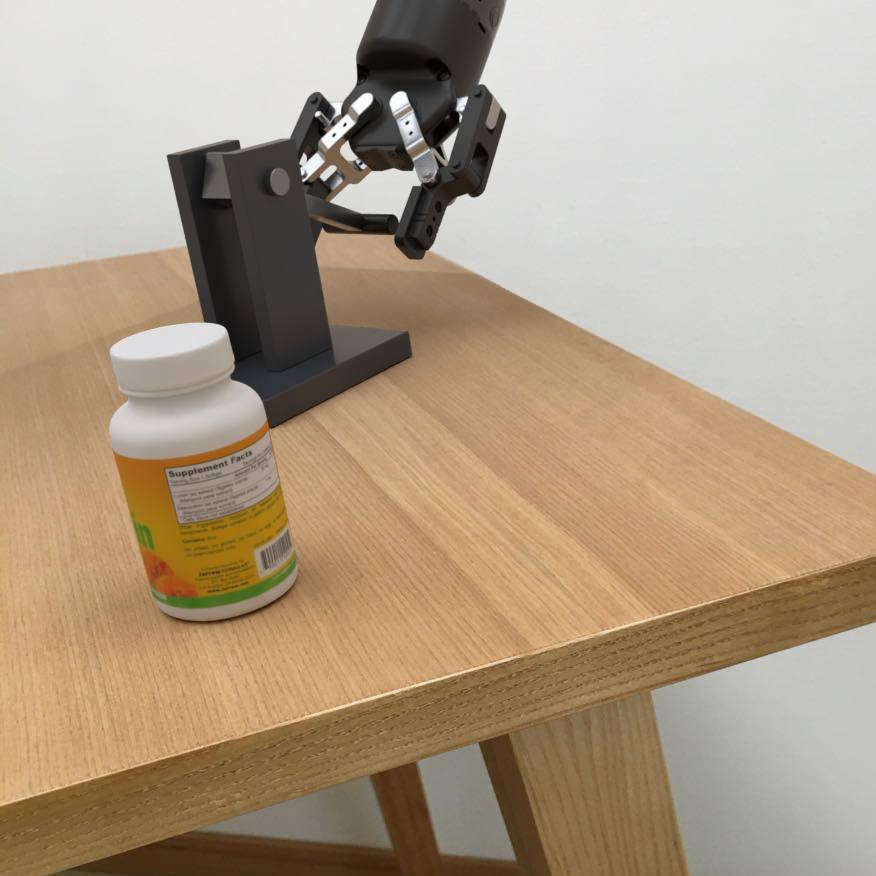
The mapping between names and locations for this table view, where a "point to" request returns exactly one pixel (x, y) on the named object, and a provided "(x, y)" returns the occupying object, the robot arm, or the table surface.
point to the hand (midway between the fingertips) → (350, 250)
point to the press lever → (318, 209)
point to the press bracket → (271, 280)
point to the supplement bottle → (199, 475)
